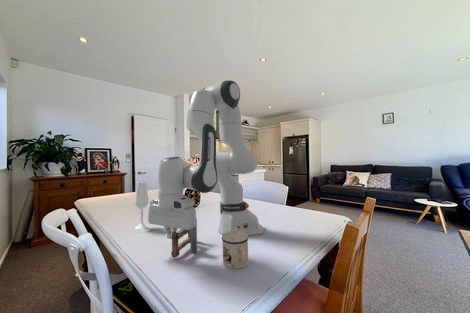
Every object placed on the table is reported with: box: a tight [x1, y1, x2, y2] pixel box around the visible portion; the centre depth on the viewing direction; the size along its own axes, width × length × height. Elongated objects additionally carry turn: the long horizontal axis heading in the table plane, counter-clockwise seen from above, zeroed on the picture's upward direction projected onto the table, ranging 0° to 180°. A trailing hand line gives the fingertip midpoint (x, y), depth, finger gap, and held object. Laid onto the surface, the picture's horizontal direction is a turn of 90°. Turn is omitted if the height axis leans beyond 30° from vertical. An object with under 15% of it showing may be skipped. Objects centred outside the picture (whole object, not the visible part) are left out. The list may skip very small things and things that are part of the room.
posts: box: [190, 217, 198, 254], centre depth 80 cm, size 3×11×10 cm, turn 4°
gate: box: [170, 229, 191, 258], centre depth 76 cm, size 13×3×8 cm, turn 164°
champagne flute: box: [134, 181, 150, 230], centre depth 105 cm, size 7×7×24 cm
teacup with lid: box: [221, 228, 249, 270], centre depth 66 cm, size 12×9×12 cm
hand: (171, 238), depth 72 cm, fingers closed
